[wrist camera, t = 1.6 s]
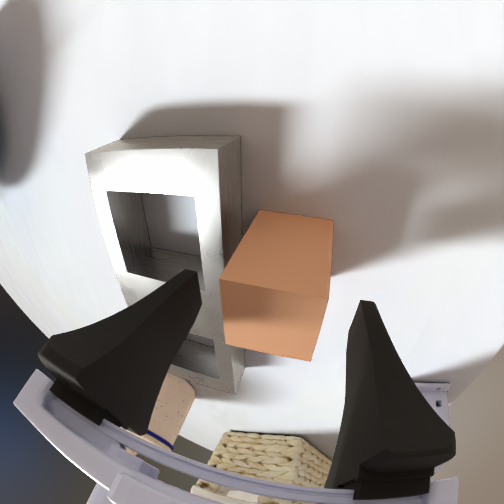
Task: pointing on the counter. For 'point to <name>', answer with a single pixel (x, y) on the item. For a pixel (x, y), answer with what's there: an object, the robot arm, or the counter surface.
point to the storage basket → (264, 466)
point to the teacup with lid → (168, 413)
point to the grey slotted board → (169, 262)
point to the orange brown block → (278, 285)
